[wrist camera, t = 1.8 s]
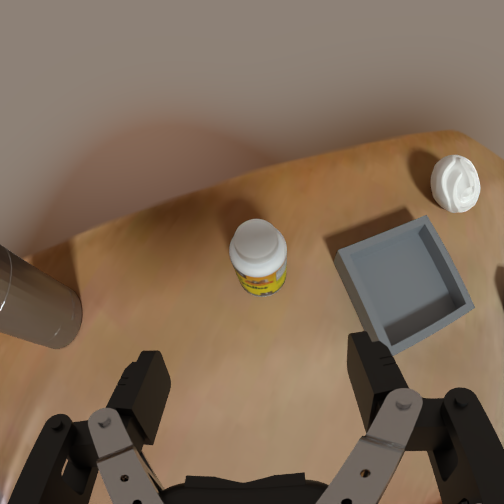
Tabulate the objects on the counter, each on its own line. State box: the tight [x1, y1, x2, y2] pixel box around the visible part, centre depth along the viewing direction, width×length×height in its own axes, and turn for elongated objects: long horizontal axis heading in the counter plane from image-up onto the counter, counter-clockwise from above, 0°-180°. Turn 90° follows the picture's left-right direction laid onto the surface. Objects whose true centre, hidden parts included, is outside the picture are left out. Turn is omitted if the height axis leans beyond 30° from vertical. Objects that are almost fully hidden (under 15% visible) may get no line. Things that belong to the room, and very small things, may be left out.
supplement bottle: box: [229, 219, 287, 297], centre depth 33 cm, size 6×6×10 cm
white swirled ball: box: [431, 155, 480, 213], centre depth 36 cm, size 8×8×8 cm
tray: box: [334, 215, 475, 356], centre depth 33 cm, size 13×13×4 cm
